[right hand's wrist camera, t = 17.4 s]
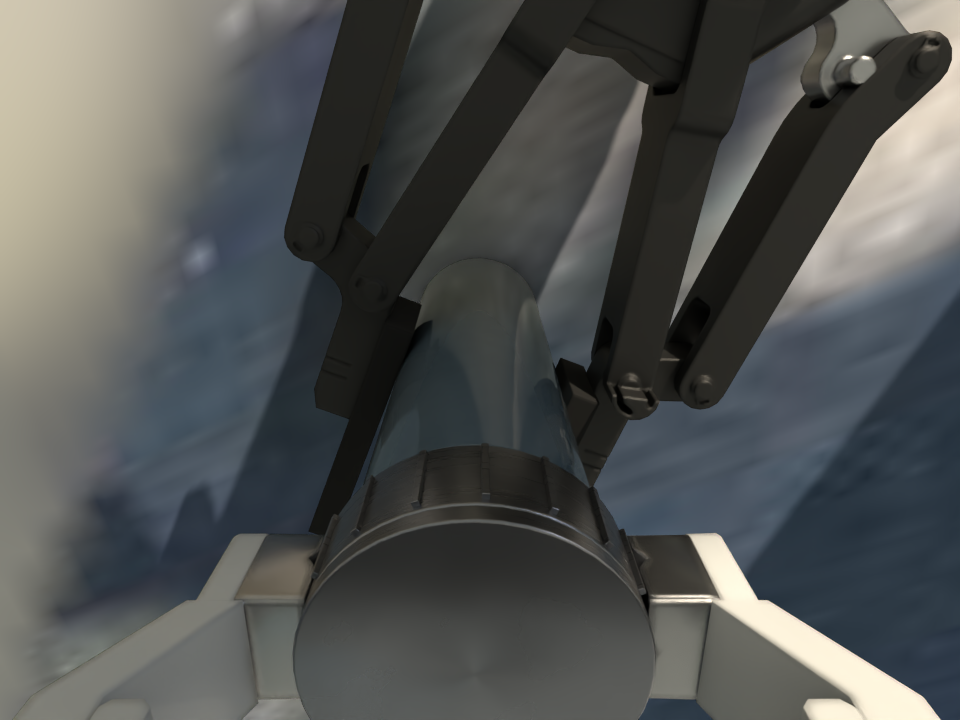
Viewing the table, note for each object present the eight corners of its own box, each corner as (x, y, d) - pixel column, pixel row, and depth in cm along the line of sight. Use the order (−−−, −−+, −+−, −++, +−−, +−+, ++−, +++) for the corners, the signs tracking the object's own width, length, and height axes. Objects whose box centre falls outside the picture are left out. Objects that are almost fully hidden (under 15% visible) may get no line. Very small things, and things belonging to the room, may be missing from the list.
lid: (478, 373, 9) (479, 437, 8) (694, 579, 11) (738, 676, 9) (256, 574, 11) (209, 670, 9) (473, 736, 12) (473, 850, 10)
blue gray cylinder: (560, 296, 24) (688, 596, 9) (496, 390, 25) (520, 783, 10) (457, 234, 23) (418, 453, 8) (397, 334, 24) (272, 675, 10)
